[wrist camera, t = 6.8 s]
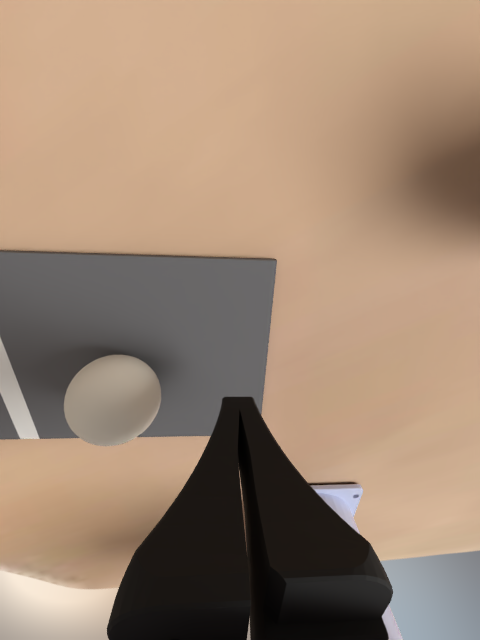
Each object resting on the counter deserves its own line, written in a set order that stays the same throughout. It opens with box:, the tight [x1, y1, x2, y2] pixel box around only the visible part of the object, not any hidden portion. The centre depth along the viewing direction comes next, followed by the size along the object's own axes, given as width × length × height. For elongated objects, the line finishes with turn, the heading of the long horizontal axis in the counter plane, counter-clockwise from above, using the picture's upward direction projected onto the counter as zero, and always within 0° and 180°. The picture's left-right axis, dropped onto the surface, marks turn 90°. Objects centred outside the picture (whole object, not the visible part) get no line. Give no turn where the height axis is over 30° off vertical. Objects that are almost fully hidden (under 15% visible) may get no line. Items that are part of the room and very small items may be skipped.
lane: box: [0, 250, 277, 439], centre depth 15 cm, size 12×25×1 cm, turn 88°
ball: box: [64, 355, 161, 446], centre depth 13 cm, size 4×4×4 cm
